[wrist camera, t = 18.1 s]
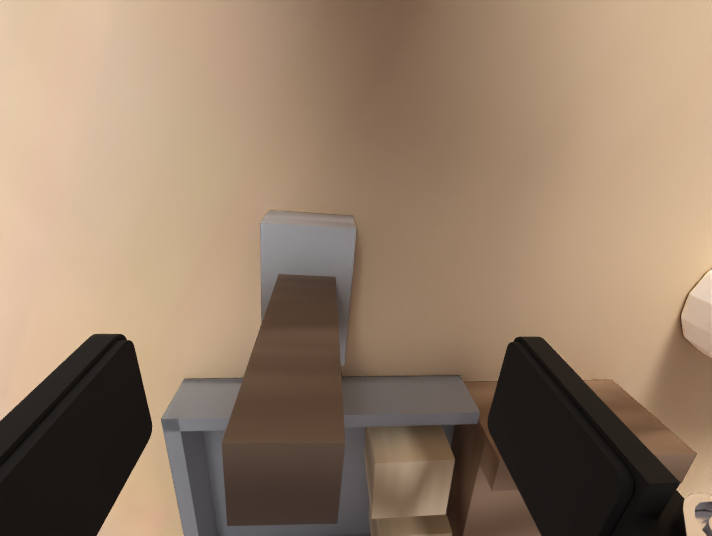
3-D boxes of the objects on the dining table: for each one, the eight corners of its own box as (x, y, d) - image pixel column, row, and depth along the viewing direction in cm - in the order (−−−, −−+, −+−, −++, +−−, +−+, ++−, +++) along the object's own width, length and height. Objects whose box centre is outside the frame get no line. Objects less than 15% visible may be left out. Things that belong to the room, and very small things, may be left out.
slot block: (458, 382, 21) (499, 460, 16) (612, 379, 22) (696, 453, 17) (432, 525, 26) (458, 621, 21) (560, 519, 27) (614, 609, 22)
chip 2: (432, 468, 23) (372, 471, 23) (452, 533, 20) (381, 536, 19) (425, 510, 25) (368, 512, 24) (442, 577, 21) (376, 581, 21)
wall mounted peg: (269, 210, 17) (170, 346, 6) (352, 215, 17) (393, 353, 7) (269, 335, 19) (200, 587, 9) (342, 338, 20) (360, 581, 9)
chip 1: (432, 401, 21) (366, 404, 21) (455, 459, 18) (375, 463, 17) (426, 451, 23) (364, 454, 22) (445, 514, 19) (371, 518, 19)
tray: (184, 378, 20) (161, 419, 17) (460, 375, 21) (480, 412, 19) (210, 541, 25) (195, 592, 22) (431, 530, 26) (444, 577, 24)
